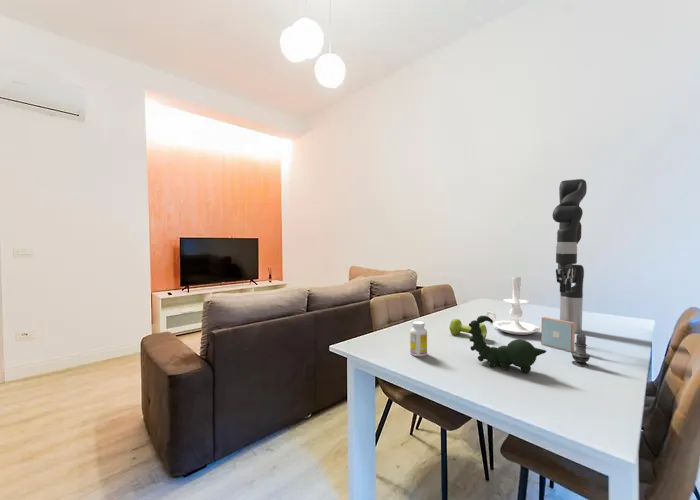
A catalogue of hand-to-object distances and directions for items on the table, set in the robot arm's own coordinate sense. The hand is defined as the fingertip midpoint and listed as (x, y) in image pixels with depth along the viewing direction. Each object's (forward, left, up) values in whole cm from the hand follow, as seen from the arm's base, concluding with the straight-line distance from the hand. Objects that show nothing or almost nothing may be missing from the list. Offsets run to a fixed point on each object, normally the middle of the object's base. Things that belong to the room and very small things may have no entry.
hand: (565, 291), depth 139 cm
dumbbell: (+25, -31, -24) cm, 46 cm away
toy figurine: (+45, -1, -24) cm, 50 cm away
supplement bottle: (+61, -28, -24) cm, 71 cm away
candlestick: (0, -24, -24) cm, 34 cm away
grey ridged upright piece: (+19, +13, -24) cm, 33 cm away
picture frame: (+7, 0, -23) cm, 24 cm away
